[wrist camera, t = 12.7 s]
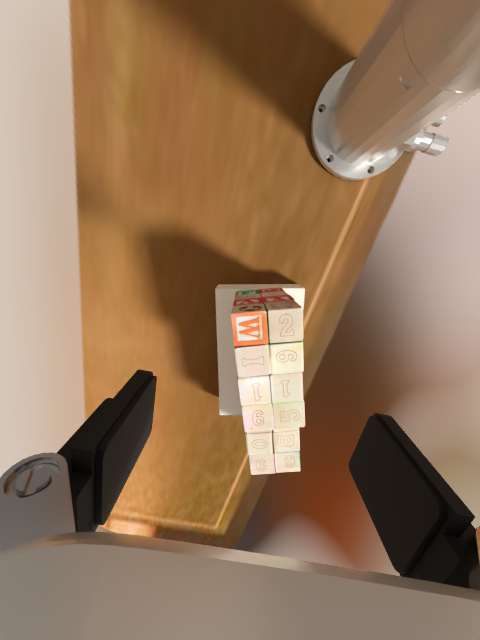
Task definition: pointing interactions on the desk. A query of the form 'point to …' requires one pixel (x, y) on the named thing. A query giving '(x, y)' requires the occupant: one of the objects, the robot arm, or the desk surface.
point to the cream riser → (225, 341)
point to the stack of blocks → (270, 376)
